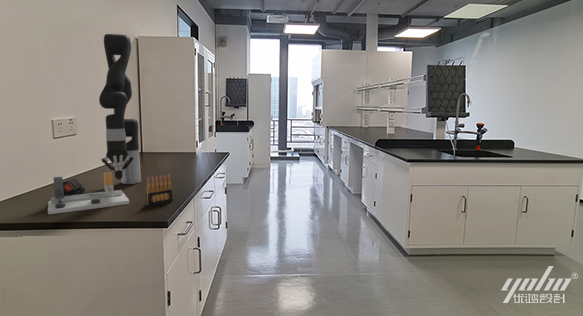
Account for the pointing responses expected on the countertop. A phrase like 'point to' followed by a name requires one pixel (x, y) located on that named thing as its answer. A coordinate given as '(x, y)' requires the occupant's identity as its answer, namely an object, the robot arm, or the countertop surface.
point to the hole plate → (87, 204)
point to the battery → (72, 187)
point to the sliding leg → (108, 183)
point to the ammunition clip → (158, 190)
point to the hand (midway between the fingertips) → (118, 179)
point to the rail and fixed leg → (61, 198)
